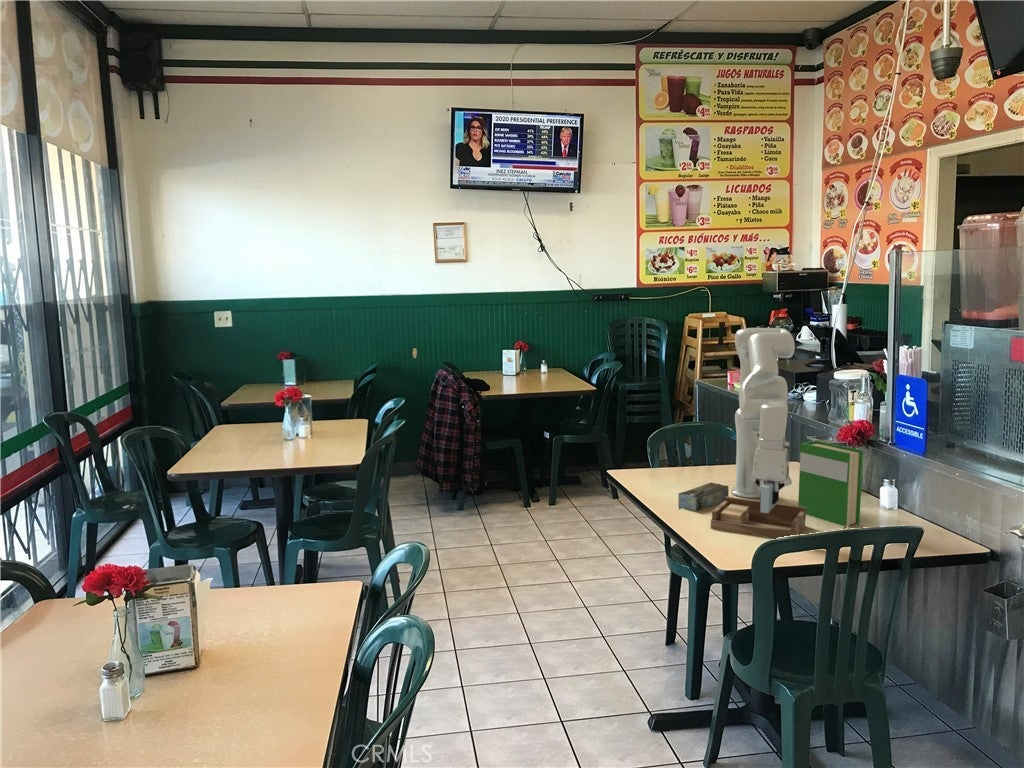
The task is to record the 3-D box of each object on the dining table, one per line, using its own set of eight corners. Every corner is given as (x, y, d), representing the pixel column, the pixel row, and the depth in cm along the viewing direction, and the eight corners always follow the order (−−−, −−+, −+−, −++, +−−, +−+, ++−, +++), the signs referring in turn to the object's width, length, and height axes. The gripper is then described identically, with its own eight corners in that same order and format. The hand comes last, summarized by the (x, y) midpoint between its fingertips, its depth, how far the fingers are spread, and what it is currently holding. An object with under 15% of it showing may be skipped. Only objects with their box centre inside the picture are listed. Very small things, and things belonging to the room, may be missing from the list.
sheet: (769, 501, 264) (770, 476, 263) (777, 502, 263) (778, 477, 261) (760, 512, 254) (761, 486, 252) (768, 513, 253) (769, 487, 251)
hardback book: (859, 524, 264) (863, 450, 261) (844, 529, 260) (848, 453, 257) (812, 511, 279) (815, 440, 276) (797, 514, 275) (800, 443, 272)
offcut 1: (730, 508, 270) (730, 503, 269) (749, 510, 267) (749, 506, 266) (720, 517, 260) (720, 512, 260) (739, 520, 257) (740, 515, 257)
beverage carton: (676, 509, 283) (677, 490, 282) (710, 498, 295) (710, 480, 294) (696, 515, 277) (696, 495, 276) (729, 503, 289) (730, 484, 288)
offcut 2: (730, 512, 270) (730, 508, 270) (749, 515, 267) (749, 510, 267) (720, 522, 260) (720, 517, 260) (739, 525, 257) (739, 520, 257)
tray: (725, 517, 273) (725, 496, 272) (805, 528, 261) (806, 507, 260) (710, 531, 260) (711, 509, 259) (793, 544, 247) (794, 521, 246)
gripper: (801, 444, 254) (799, 502, 257) (748, 438, 262) (746, 495, 265) (796, 449, 248) (793, 509, 251) (741, 443, 256) (739, 501, 259)
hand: (769, 501), depth 258 cm, fingers closed on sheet, 2 cm apart
